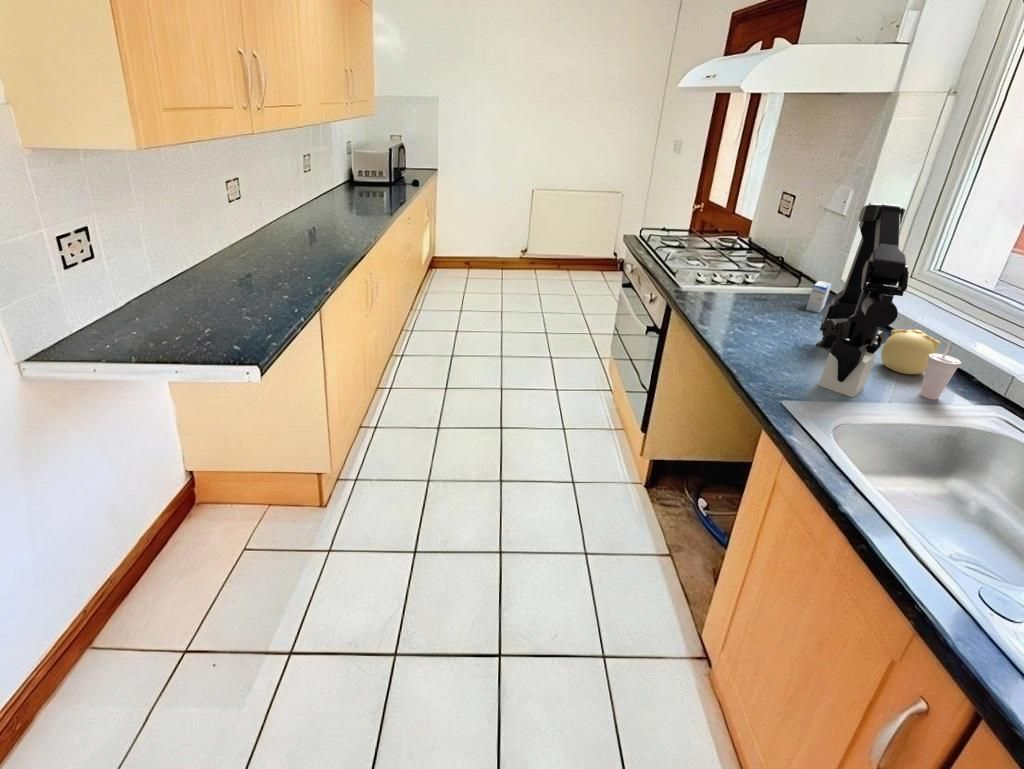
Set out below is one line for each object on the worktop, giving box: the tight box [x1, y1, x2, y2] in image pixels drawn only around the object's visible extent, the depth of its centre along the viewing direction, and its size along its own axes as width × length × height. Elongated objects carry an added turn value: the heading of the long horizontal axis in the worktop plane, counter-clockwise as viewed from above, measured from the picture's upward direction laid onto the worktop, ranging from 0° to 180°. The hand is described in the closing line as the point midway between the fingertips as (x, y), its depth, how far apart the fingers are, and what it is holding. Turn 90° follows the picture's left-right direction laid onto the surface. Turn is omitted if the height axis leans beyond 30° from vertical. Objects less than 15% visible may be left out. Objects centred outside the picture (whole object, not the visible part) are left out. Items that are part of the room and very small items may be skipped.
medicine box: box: [806, 280, 832, 313], centre depth 192 cm, size 8×4×9 cm, turn 144°
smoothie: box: [919, 339, 962, 400], centre depth 132 cm, size 6×6×14 cm
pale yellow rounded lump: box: [880, 329, 942, 375], centre depth 147 cm, size 12×12×11 cm
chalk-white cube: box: [818, 352, 877, 398], centre depth 135 cm, size 8×8×9 cm
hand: (846, 376), depth 135 cm, fingers open, 9 cm apart
